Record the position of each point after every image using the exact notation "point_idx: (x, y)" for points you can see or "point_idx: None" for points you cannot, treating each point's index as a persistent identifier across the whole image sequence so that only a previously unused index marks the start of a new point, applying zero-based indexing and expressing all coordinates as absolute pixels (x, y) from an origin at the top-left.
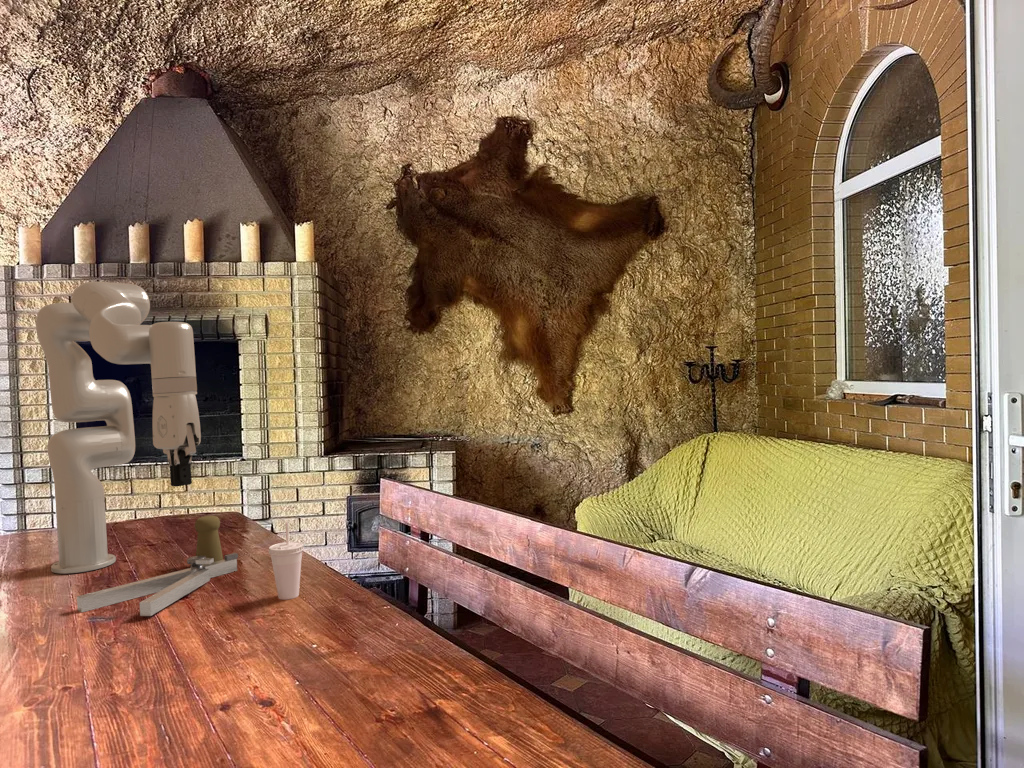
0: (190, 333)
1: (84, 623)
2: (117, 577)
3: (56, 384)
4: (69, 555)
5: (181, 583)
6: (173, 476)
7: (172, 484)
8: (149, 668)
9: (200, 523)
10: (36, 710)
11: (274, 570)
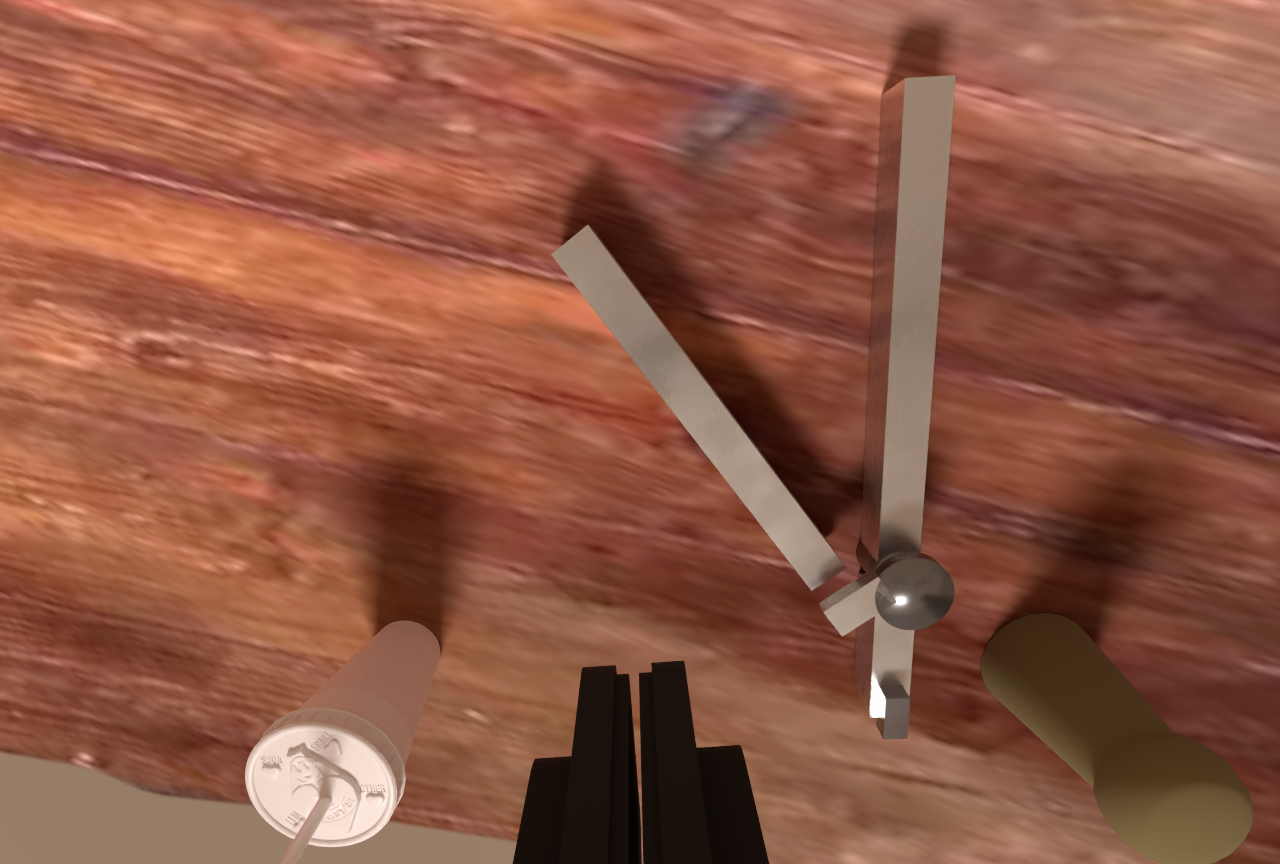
0: None
1: (727, 59)
2: (1249, 367)
3: None
4: None
5: (704, 437)
6: (593, 746)
7: (653, 672)
8: (62, 65)
9: (1162, 769)
10: None
11: (362, 672)
